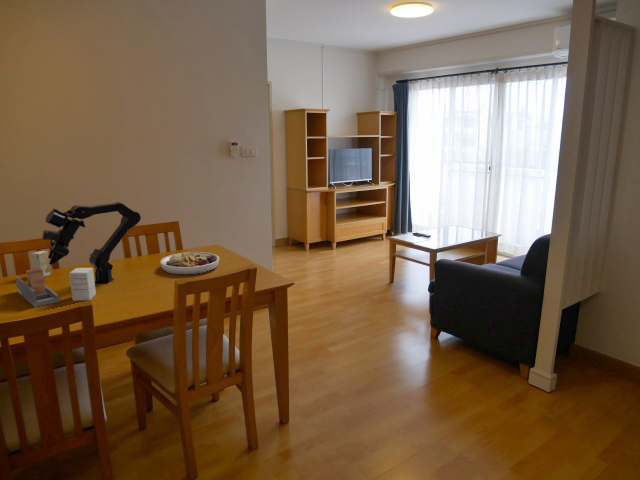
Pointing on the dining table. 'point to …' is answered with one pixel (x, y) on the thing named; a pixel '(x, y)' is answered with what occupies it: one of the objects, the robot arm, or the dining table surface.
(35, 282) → the terracotta block
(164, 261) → the bowl
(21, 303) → the dining table surface
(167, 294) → the dining table surface
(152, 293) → the dining table surface
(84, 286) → the supplement box
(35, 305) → the channel deck
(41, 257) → the skincare box
